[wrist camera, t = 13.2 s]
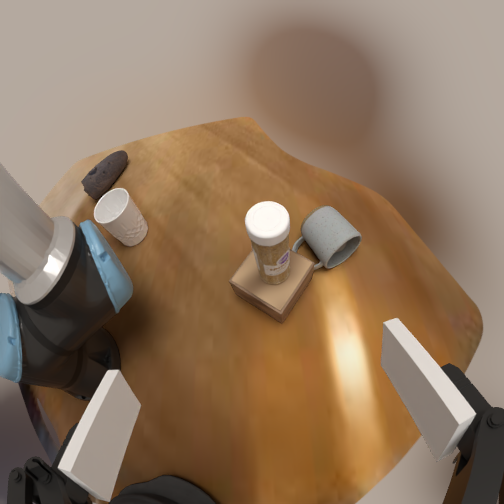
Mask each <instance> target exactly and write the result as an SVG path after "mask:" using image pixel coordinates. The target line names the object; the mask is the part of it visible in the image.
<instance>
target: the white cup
mask: <svg viewBox="0 0 504 504" xmlns="http://www.w3.org/2000/svg"><path fill="white" fill-rule="evenodd" d="M94 218H95V220H96V221H97V222H98V223H99V224H100V225H101V226H103V227H104V228H105V229H106V230H107V231H108V232H109V233H110V234H112V235H113V236H114V237H115V238H117V239H118V240H120V241H121V242H122V243H123V244H124V245H126V246H134V245H137V244H138V243H140V242H141V241H142V240H143V239H144V238H145V236H146V235H147V231H148V225H147V222H146V221H145V219H144V218H143V216H142V214H141V212H140V211H139V209H138V208H137V206H136V204H135V203H134V201H133V200H132V198H131V197H130V195H129V194H128V192H127V191H126V190H125V189H122V188H116V189H113V190H111V191H109V192H107V193H106V194H105V195H103V196H102V197H101V199H100V200H99V201H98V203H97V205H96V207H95V210H94Z"/></svg>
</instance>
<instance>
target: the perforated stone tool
mask: <svg viewBox="0 0 504 504" xmlns="http://www.w3.org/2000/svg"><path fill="white" fill-rule="evenodd" d="M127 159H128V155H127V153H126V152H125V151H122V150H121V151H117V152H114V153H112V154H111V155H109V156H107V157H106V158H105V159H103V160H102V161H101V162H100V163H99V164H97V165H96V166H95V167H94V168H93V169H92V170H91V171H90V172H89V173H88V174H87V175H86V177H85V178H84V179H83V180H82V181H81V182H82V184H83V186H84V191H85V192H86V193H88V195H89V196H91V197H92V198H93V199H99V198H100V197H101V196H102V195H103V194H104V193H105V192H106V191H107V190H108V189H109V188H110V187H111V185H112V184H113V183H114V182H115V180H116V179H117V178H118V176H119V175H120V174H121V172H122V171H123V169H124V168H125V166H126V163H127Z"/></svg>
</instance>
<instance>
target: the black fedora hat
mask: <svg viewBox="0 0 504 504" xmlns="http://www.w3.org/2000/svg"><path fill="white" fill-rule="evenodd" d="M109 504H216V503H215V502H214V501H213V500H212V499H211V498H210V497H209V495H207V494H206V493H205V492H203V491H202V490H201V489H200V488H198V487H196V486H195V485H193V484H191V483H190V482H187V481H185V480H183V479H181V478H178V477H174V476H171V475H162V476H160V477H157V478H155V479H153V480H151V481H149V482H144V483H138V484H132V485H130V486H127V487H125V488H124V489H123V490H122V491H121V492H120V493H119V495H118V496H116V497H115V498H113V499H112V500H111V501H110V503H109Z"/></svg>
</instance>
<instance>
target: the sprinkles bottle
mask: <svg viewBox="0 0 504 504" xmlns="http://www.w3.org/2000/svg"><path fill="white" fill-rule="evenodd" d="M245 225H246V230H247V233H248V236H249V237H250V239H251V242H252V249H253V252H254V256H255V260H256V263H257V267H258V269H259V275H260V277H261V279H262V280H263V281H264V282H266V283H268V284H280V283H282V282H284V281H285V280H286V279H287V278H288V276H289V273H290V265H289V262H290V251H289V235H288V233H289V230H290V218H289V214H288V212H287V210H286V209H285V208H284V207H283V206H282V205H280V204H278V203H276V202H271V201H266V202H261V203H258V204H256V205H254V206H253V207H252V208H251V209H250V210H249V211H248V213H247V215H246V218H245Z"/></svg>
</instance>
